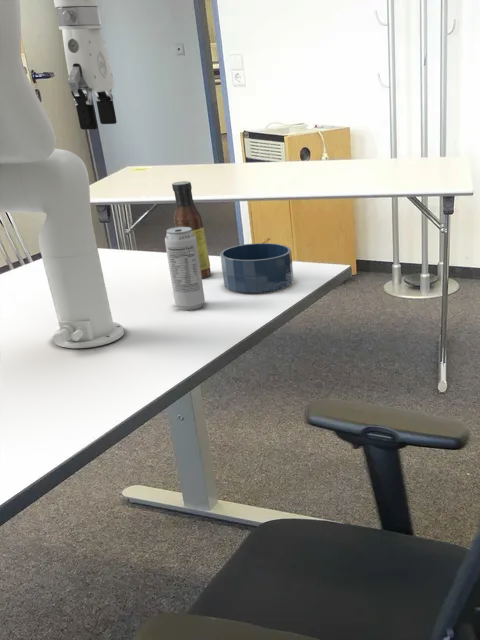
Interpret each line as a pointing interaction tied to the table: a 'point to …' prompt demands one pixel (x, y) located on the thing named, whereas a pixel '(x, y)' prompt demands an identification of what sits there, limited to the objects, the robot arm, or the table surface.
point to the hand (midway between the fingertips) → (99, 126)
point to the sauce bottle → (191, 221)
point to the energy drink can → (184, 268)
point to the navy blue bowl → (257, 267)
